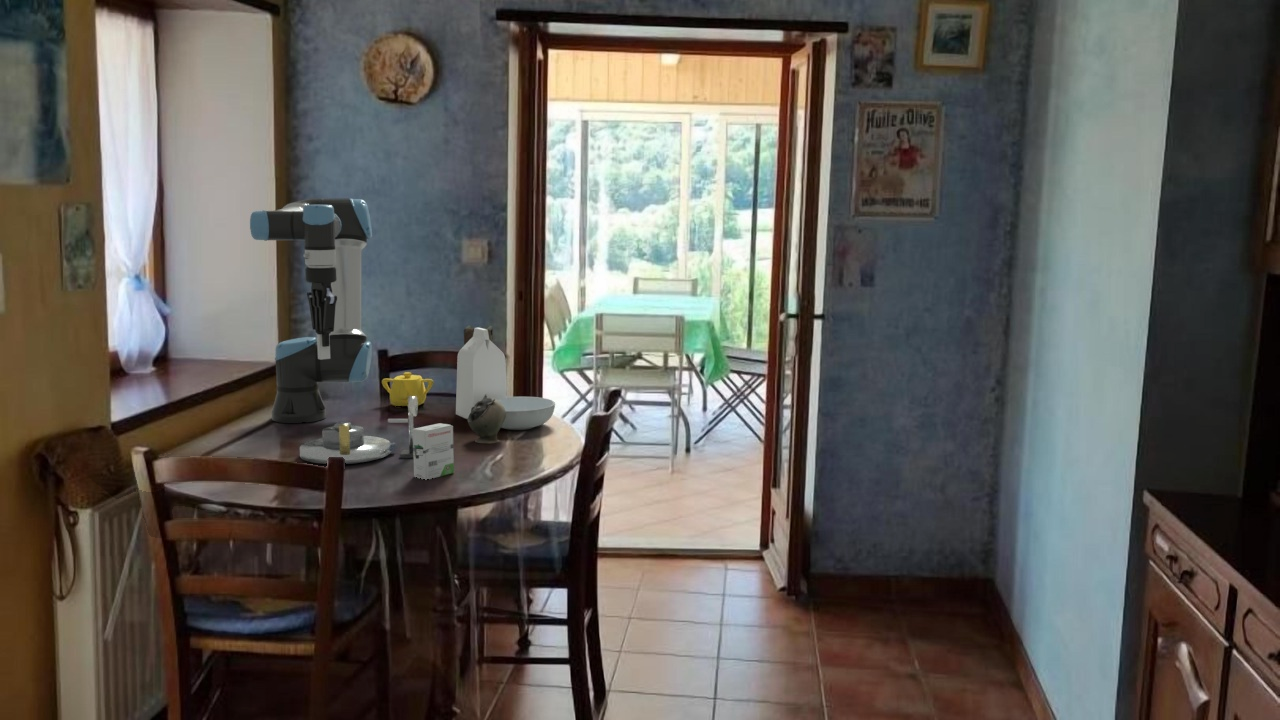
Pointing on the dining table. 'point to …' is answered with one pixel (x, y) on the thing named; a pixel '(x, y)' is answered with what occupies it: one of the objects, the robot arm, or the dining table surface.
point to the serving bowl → (526, 412)
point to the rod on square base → (411, 412)
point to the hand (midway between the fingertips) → (324, 358)
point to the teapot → (407, 388)
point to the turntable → (347, 449)
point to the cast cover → (332, 436)
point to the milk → (479, 372)
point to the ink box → (433, 451)
